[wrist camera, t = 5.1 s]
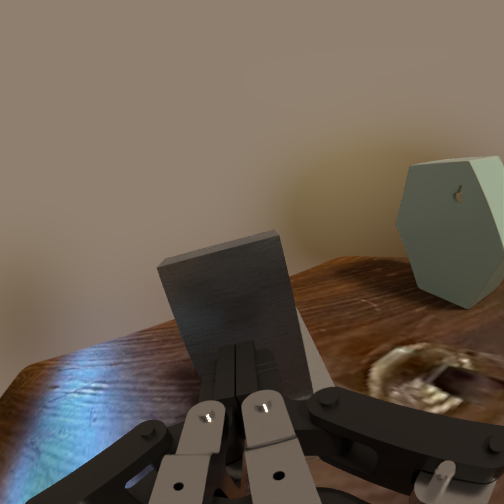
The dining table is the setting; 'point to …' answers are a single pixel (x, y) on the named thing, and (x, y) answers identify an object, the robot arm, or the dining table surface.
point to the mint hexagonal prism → (455, 227)
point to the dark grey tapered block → (238, 305)
